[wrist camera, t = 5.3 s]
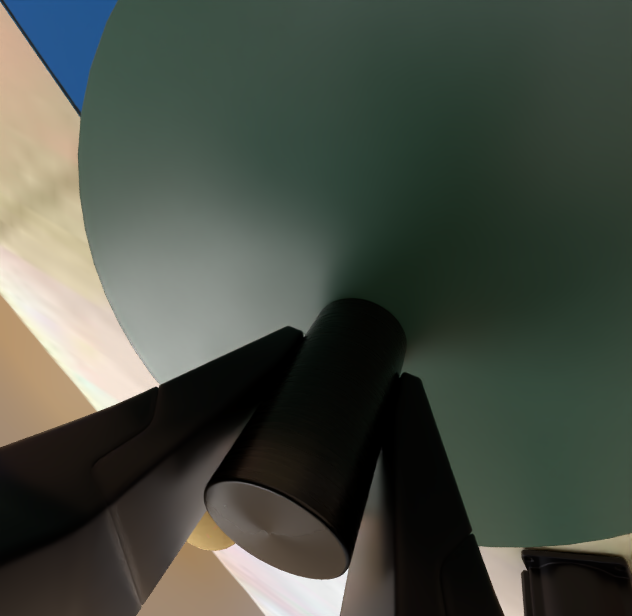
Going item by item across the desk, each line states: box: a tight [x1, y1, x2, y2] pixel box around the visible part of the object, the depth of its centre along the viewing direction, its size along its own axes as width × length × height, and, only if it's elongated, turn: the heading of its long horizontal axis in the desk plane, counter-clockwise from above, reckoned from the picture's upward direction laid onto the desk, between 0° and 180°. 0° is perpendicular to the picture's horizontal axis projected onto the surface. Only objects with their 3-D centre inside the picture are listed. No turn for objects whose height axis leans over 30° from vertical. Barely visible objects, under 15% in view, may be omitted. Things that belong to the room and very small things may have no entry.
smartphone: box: [0, 0, 118, 118], centre depth 18 cm, size 7×1×15 cm
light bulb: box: [187, 511, 235, 551], centre depth 28 cm, size 6×6×10 cm
